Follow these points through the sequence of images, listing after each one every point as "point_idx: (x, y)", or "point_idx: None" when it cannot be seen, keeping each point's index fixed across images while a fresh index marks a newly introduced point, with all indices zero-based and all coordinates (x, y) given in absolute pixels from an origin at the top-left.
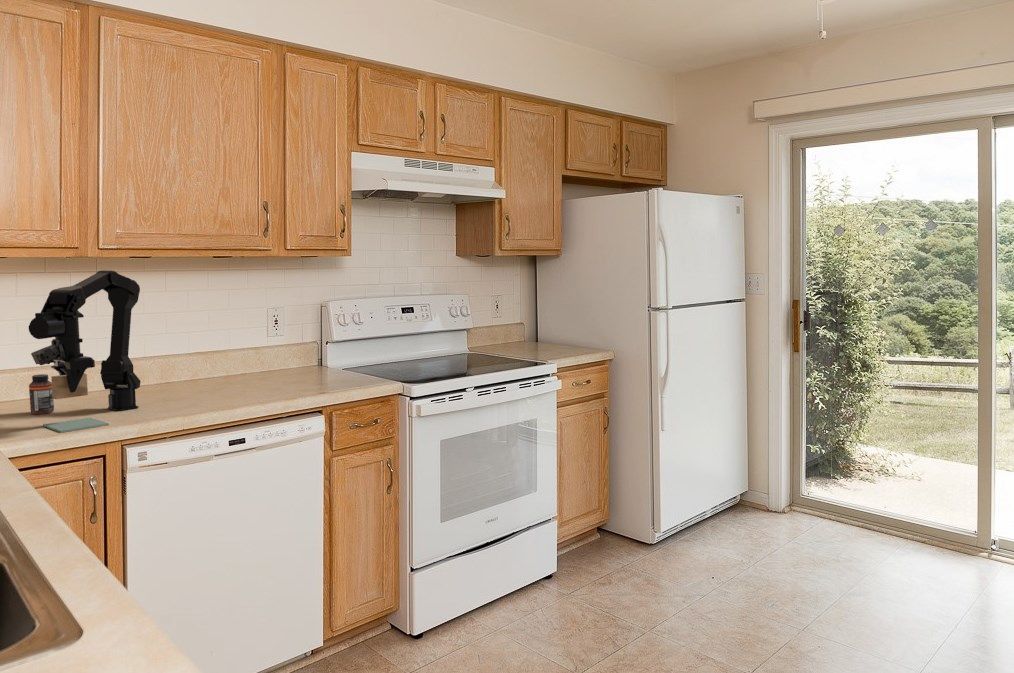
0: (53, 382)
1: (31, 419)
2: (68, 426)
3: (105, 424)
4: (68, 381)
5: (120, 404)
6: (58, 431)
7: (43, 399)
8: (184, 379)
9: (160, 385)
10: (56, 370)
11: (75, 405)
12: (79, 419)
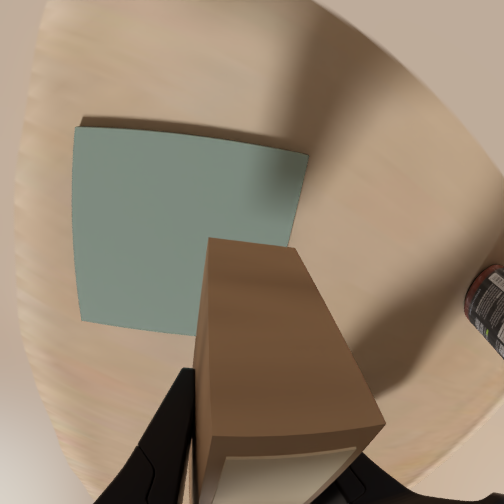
0: (284, 356)
1: (457, 218)
2: (143, 197)
3: (80, 308)
4: (161, 444)
5: None
6: (106, 127)
7: (500, 312)
8: None
9: (408, 477)
10: (431, 502)
11: (457, 372)
12: None
